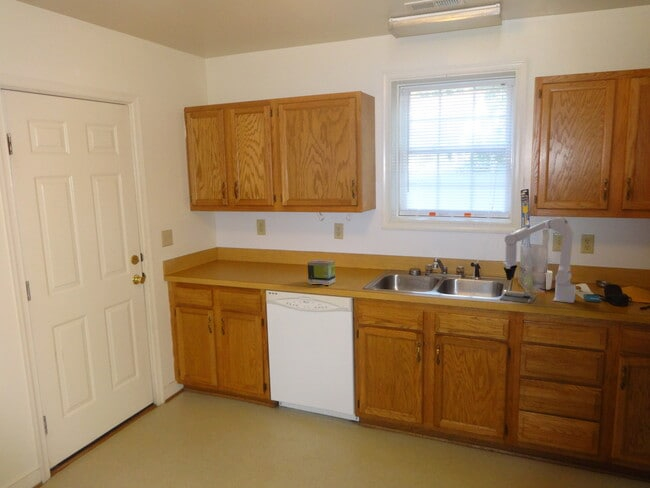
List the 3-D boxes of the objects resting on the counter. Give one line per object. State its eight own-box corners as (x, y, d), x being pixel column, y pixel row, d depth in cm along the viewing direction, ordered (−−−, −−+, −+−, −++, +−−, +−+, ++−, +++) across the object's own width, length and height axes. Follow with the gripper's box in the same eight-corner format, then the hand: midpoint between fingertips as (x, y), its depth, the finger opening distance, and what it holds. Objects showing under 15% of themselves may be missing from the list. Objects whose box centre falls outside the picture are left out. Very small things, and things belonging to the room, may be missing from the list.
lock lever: (531, 296, 258) (531, 292, 257) (529, 298, 255) (529, 293, 254) (504, 293, 265) (504, 289, 265) (502, 295, 262) (502, 290, 262)
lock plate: (536, 296, 260) (536, 295, 260) (531, 303, 247) (531, 302, 247) (505, 293, 268) (506, 292, 268) (499, 299, 256) (499, 298, 256)
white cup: (553, 287, 277) (553, 270, 275) (550, 290, 271) (551, 273, 269) (538, 286, 281) (539, 269, 280) (535, 289, 275) (536, 272, 273)
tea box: (335, 282, 306) (335, 260, 304) (328, 286, 298) (328, 263, 295) (315, 281, 313) (314, 259, 311) (307, 284, 305) (307, 262, 302)
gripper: (506, 252, 272) (505, 275, 274) (500, 256, 260) (499, 280, 262) (519, 253, 268) (518, 276, 271) (514, 257, 256) (513, 282, 259)
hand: (510, 278), depth 266 cm, fingers open, 5 cm apart
